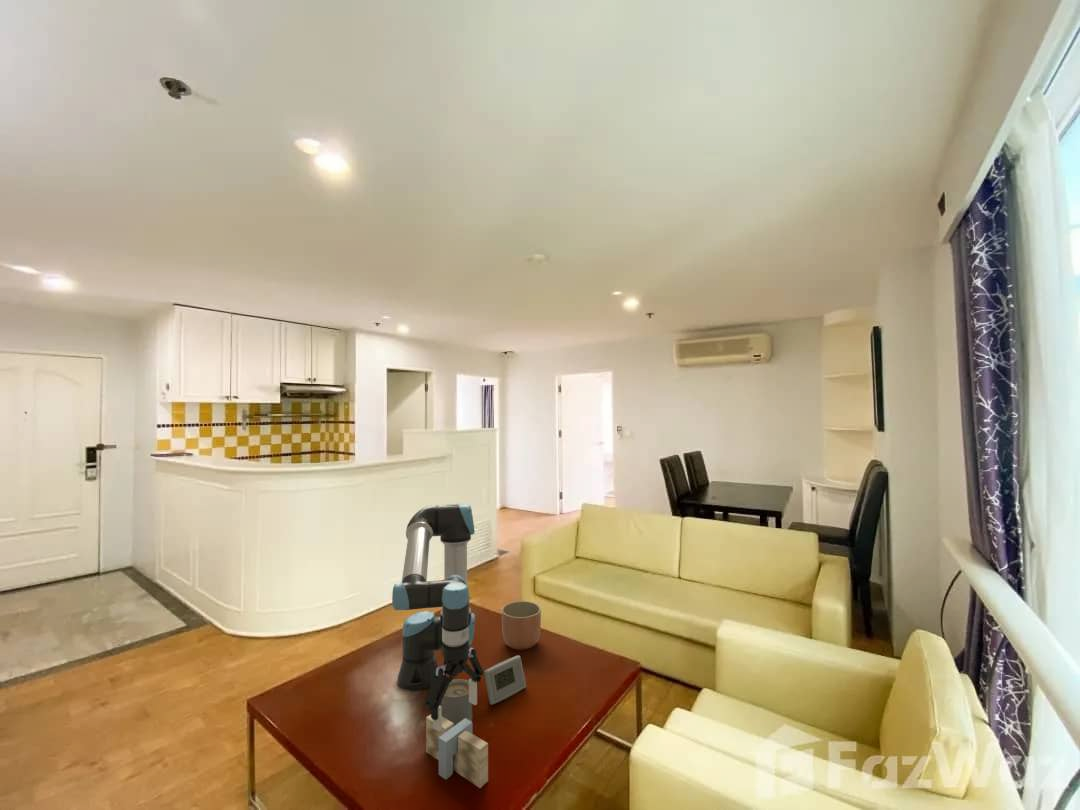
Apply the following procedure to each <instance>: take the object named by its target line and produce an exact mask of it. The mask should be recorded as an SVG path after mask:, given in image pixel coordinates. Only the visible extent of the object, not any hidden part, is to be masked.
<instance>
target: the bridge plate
mask: <svg viewBox="0 0 1080 810" xmlns="http://www.w3.org/2000/svg"><path fill="white" fill-rule="evenodd" d="M464 731H468V732H470V733H471V734H473V721H472V720H471V721H469V720H468V719H466V718H465V719H463V720H462V721H461V722H459V723H458V724H456V725H455V726H454V727H452V728H451V729H450V730H448V731H447V732H446V733H444V734H443V735H442V736H440V737H439V760H438V776H440V777H441V778H443V779H444V780H448V779H449V778H450V777H451V776H452V775H453V774H454V770H453V755H454V754H455V753H457V752H458V736H459V735H460V734H462V733H463V732H464Z"/></svg>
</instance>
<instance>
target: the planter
mask: <svg viewBox="0 0 1080 810" xmlns="http://www.w3.org/2000/svg"><path fill="white" fill-rule="evenodd" d="M541 617H542V608H541V606H540V605H539V604H537V603H535V602H534V601H533V602H531V601H525V600H521V601H518V600H517V601H511V602H509V603H507V604H505V605H504V606H502V608H501V627H502V628H501V630H502V631H501V632H502V639H503V641H504V643H505V644H506V645H507V646H508V647H509V648H511V649H512V650H517V651H524V650H529V649H531V648H533V647H534V646H535V645H536V644H537V643H538V642H539V639H540V636H541V626H542V623H541V622H542V618H541Z"/></svg>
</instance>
